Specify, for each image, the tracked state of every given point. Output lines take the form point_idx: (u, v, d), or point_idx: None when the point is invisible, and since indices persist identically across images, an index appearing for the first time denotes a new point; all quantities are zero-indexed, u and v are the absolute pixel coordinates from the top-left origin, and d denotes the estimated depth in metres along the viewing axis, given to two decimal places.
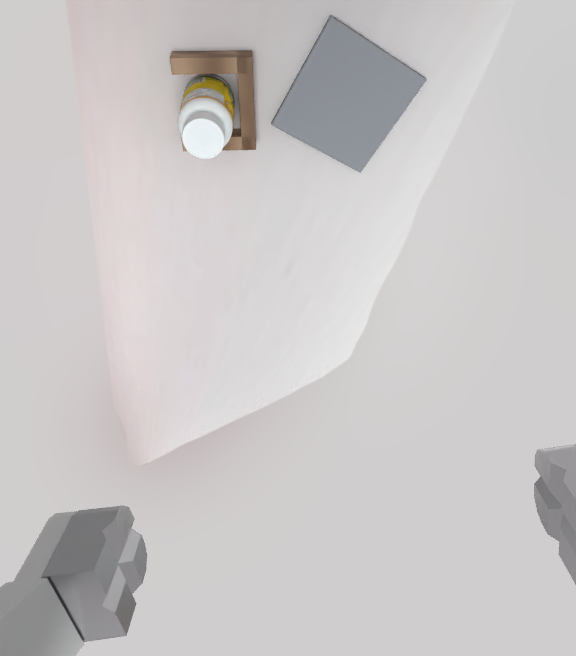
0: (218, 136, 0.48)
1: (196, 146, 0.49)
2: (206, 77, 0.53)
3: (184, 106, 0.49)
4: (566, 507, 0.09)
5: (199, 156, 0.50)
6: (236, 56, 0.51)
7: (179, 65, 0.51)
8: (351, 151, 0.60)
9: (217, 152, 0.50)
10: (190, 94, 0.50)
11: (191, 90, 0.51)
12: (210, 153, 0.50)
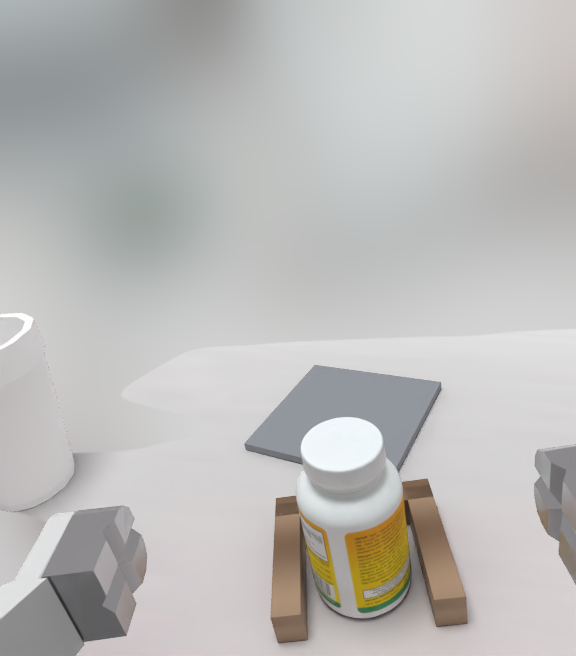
0: (333, 424, 0.26)
1: (356, 450, 0.24)
2: None
3: (310, 517, 0.25)
4: (566, 507, 0.09)
5: (377, 444, 0.24)
6: (275, 518, 0.32)
7: (284, 600, 0.26)
8: (411, 395, 0.42)
9: (364, 422, 0.26)
10: (308, 539, 0.26)
11: (311, 552, 0.26)
12: (368, 431, 0.25)
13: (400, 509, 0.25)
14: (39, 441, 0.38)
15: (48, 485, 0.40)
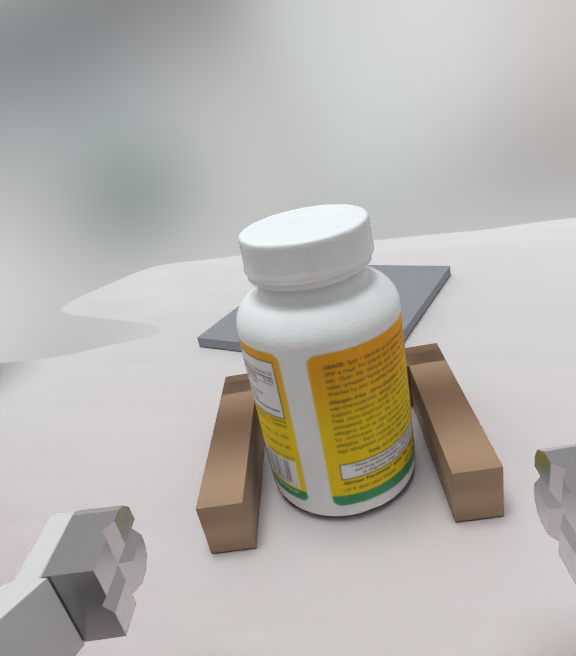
0: (293, 212, 0.17)
1: (325, 225, 0.15)
2: None
3: (253, 340, 0.15)
4: (566, 508, 0.09)
5: (359, 217, 0.15)
6: (222, 397, 0.22)
7: (219, 486, 0.17)
8: (412, 280, 0.33)
9: (341, 205, 0.17)
10: (255, 388, 0.17)
11: (261, 413, 0.17)
12: (345, 210, 0.16)
13: (397, 331, 0.16)
14: None
15: None
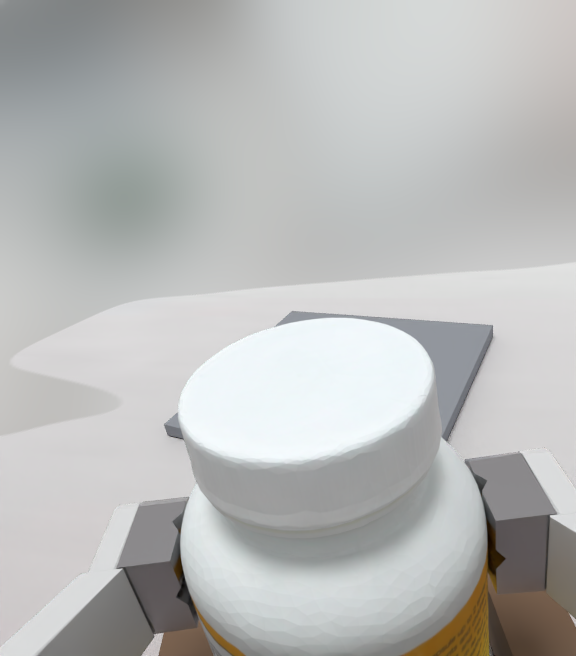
0: (286, 334, 0.09)
1: (349, 393, 0.07)
2: None
3: (204, 608, 0.08)
4: None
5: (418, 376, 0.07)
6: None
7: None
8: (446, 345, 0.25)
9: (374, 325, 0.09)
10: None
11: None
12: (385, 345, 0.08)
13: (484, 580, 0.08)
14: None
15: None
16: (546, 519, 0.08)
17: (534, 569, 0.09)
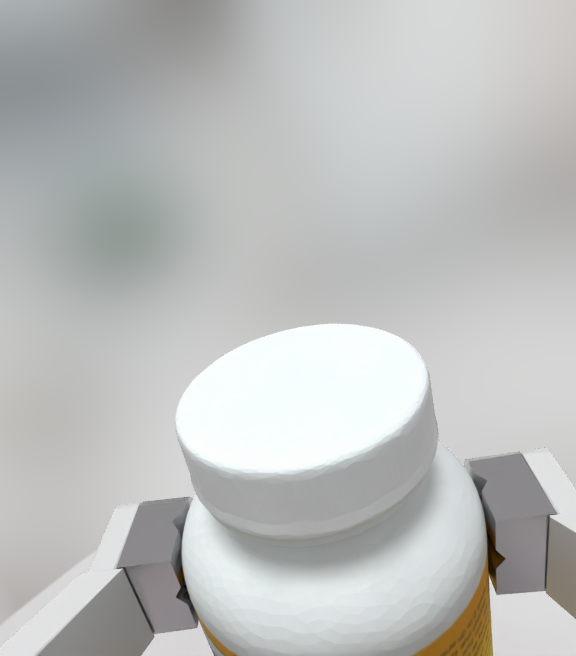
0: (282, 341, 0.09)
1: (344, 401, 0.07)
2: None
3: (205, 617, 0.08)
4: (485, 517, 0.09)
5: (412, 383, 0.07)
6: None
7: None
8: None
9: (369, 331, 0.09)
10: None
11: None
12: (380, 351, 0.08)
13: (484, 585, 0.08)
14: None
15: None
16: (546, 519, 0.08)
17: (534, 569, 0.09)
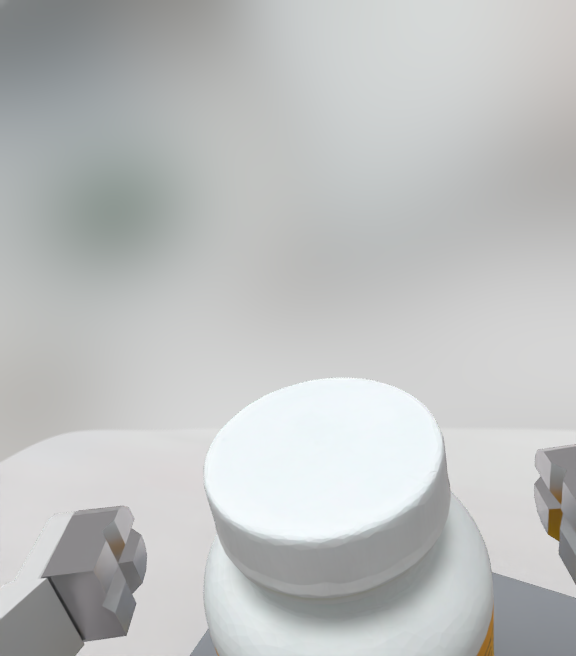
0: (302, 395, 0.10)
1: (364, 466, 0.08)
2: None
3: None
4: (566, 508, 0.09)
5: (428, 450, 0.08)
6: None
7: None
8: None
9: (386, 389, 0.10)
10: None
11: None
12: (397, 412, 0.09)
13: (490, 635, 0.09)
14: None
15: None
16: None
17: None
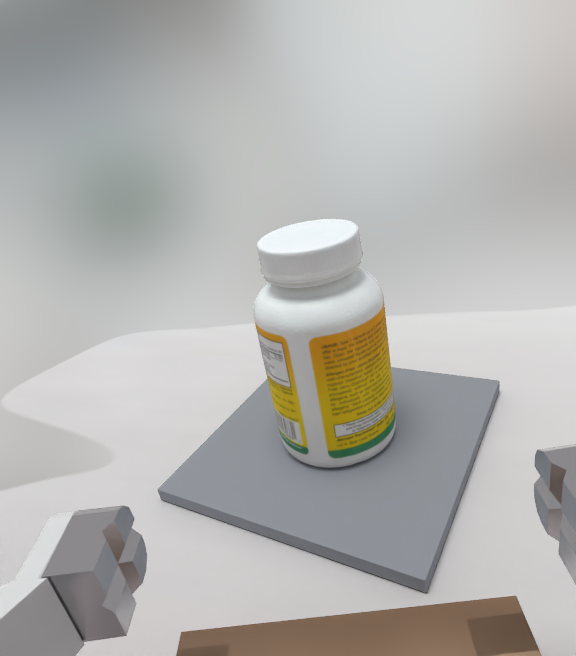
0: (300, 225, 0.21)
1: (324, 237, 0.19)
2: None
3: (267, 325, 0.20)
4: (566, 507, 0.09)
5: (351, 231, 0.19)
6: None
7: None
8: (451, 403, 0.25)
9: (338, 220, 0.21)
10: (268, 364, 0.21)
11: (272, 384, 0.22)
12: (341, 225, 0.20)
13: (380, 320, 0.20)
14: None
15: None
16: None
17: None
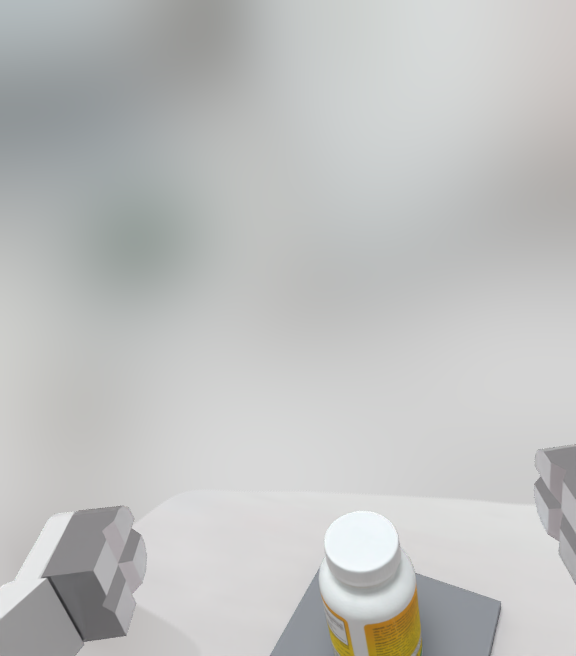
0: (353, 518, 0.29)
1: (375, 548, 0.27)
2: None
3: (332, 607, 0.27)
4: (566, 507, 0.09)
5: (393, 544, 0.27)
6: None
7: None
8: (463, 625, 0.32)
9: (381, 518, 0.28)
10: (330, 623, 0.29)
11: (332, 634, 0.29)
12: (385, 528, 0.28)
13: (413, 599, 0.28)
14: None
15: None
16: None
17: None
